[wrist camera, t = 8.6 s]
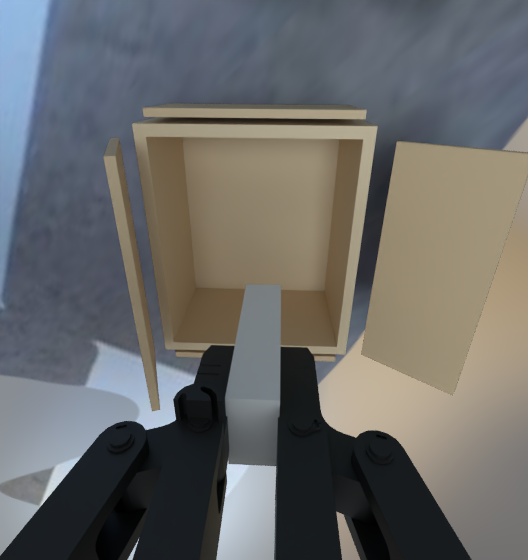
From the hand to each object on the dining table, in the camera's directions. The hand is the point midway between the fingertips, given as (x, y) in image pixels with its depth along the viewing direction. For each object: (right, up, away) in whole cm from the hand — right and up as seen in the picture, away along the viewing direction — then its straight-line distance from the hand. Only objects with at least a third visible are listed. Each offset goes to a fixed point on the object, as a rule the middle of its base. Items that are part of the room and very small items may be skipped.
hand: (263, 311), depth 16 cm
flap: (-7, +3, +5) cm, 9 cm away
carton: (0, +7, +12) cm, 14 cm away
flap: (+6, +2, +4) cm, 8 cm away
